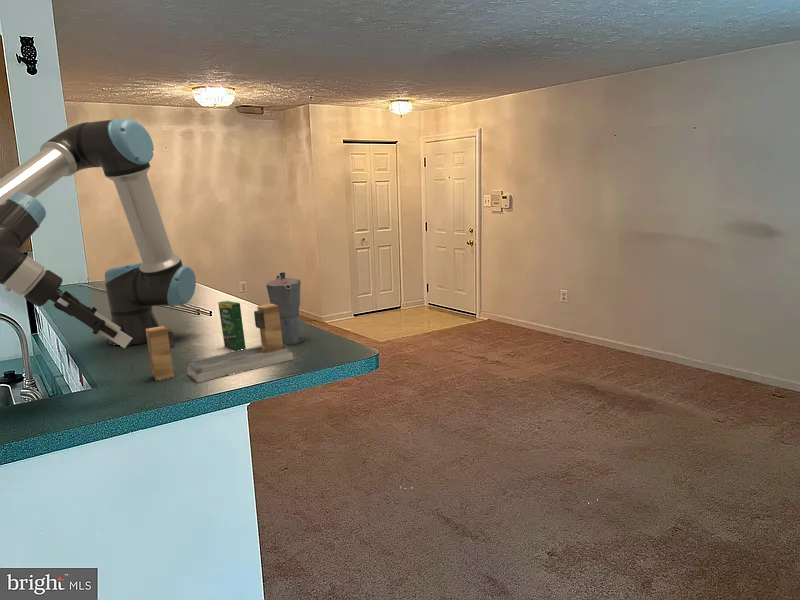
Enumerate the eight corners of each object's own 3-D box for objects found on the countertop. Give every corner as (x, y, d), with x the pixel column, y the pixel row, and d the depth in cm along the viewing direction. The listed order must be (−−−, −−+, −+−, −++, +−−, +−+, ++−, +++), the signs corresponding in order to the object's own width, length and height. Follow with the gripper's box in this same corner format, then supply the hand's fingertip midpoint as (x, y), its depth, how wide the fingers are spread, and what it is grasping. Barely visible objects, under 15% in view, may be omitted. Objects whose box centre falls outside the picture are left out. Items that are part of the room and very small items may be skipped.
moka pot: (279, 350, 158) (271, 277, 154) (264, 338, 171) (257, 271, 167) (313, 343, 162) (306, 272, 158) (296, 332, 175) (289, 266, 171)
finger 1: (152, 376, 141) (145, 329, 139) (175, 371, 144) (168, 324, 142) (156, 380, 138) (149, 332, 136) (179, 375, 141) (172, 327, 138)
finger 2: (258, 353, 149) (252, 307, 146) (277, 348, 152) (272, 303, 149) (264, 356, 145) (258, 309, 143) (283, 351, 148) (278, 305, 146)
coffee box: (223, 346, 165) (217, 301, 162) (232, 344, 166) (226, 299, 164) (236, 351, 159) (230, 304, 156) (246, 349, 161) (240, 302, 158)
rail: (188, 374, 141) (186, 362, 140) (280, 353, 154) (278, 341, 154) (197, 382, 135) (196, 369, 134) (293, 359, 148) (291, 347, 147)
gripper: (19, 290, 131) (103, 340, 143) (24, 304, 111) (121, 362, 122) (42, 263, 133) (123, 316, 145) (51, 273, 113) (144, 333, 124)
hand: (122, 337), depth 134 cm, fingers open, 13 cm apart
